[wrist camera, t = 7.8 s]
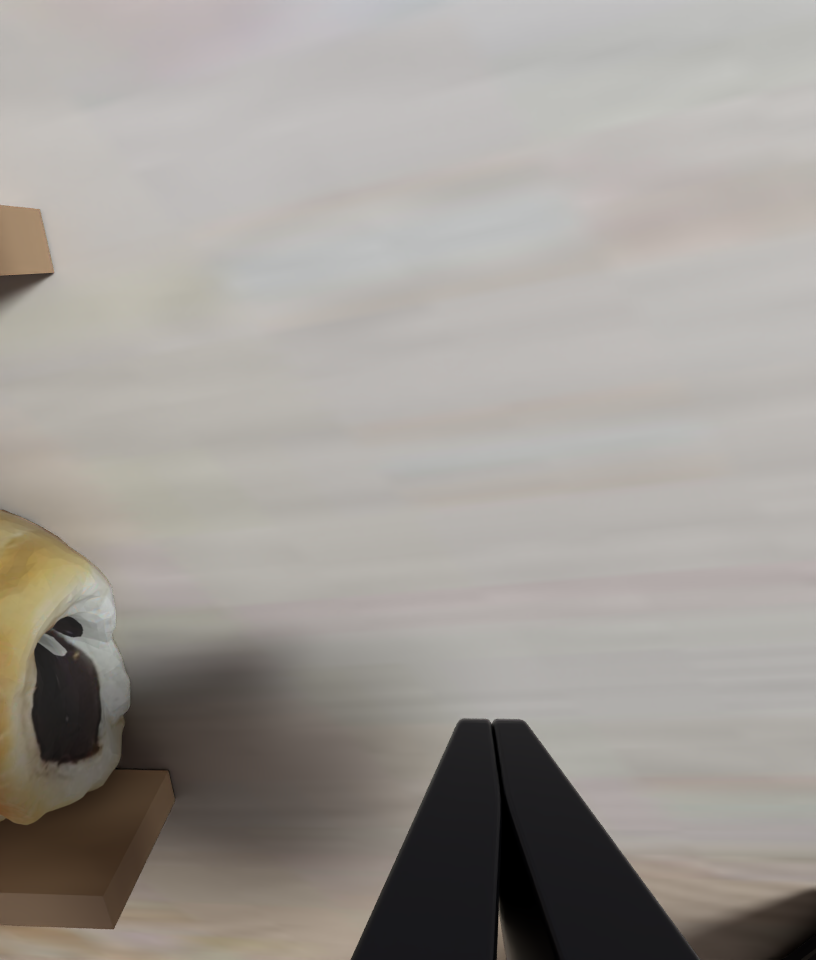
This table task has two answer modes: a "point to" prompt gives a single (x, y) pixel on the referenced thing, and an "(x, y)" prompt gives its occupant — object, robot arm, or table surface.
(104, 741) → the pastry
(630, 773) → the table surface
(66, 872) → the wooden frame
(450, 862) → the robot arm
